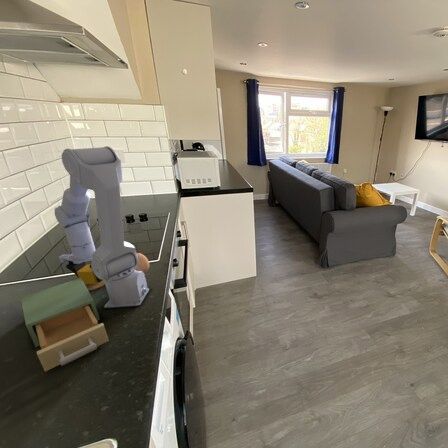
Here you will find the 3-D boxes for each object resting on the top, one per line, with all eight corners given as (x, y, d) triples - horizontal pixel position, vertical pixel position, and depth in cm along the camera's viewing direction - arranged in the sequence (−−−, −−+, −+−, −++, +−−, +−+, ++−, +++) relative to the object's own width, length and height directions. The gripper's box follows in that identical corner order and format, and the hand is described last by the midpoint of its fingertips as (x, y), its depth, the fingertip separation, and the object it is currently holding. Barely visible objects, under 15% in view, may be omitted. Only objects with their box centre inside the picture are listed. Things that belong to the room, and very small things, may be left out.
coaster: (115, 274, 90) (115, 273, 90) (101, 290, 82) (101, 289, 82) (86, 276, 89) (86, 275, 89) (69, 292, 81) (69, 291, 81)
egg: (152, 268, 95) (148, 247, 92) (149, 279, 88) (144, 257, 85) (129, 271, 92) (123, 250, 89) (124, 283, 86) (118, 260, 83)
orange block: (95, 284, 83) (91, 271, 82) (80, 284, 83) (76, 271, 81) (105, 276, 88) (101, 264, 86) (90, 276, 87) (86, 264, 86)
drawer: (114, 350, 60) (109, 334, 58) (48, 384, 52) (39, 367, 50) (94, 314, 71) (89, 299, 69) (36, 337, 63) (29, 321, 61)
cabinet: (100, 319, 70) (93, 299, 68) (35, 347, 61) (25, 325, 59) (86, 296, 79) (80, 277, 77) (29, 317, 70) (20, 297, 68)
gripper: (45, 248, 76) (59, 287, 81) (97, 248, 77) (108, 287, 82) (64, 238, 83) (76, 275, 88) (111, 238, 83) (121, 275, 88)
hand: (92, 280), depth 85 cm, fingers closed on orange block, 4 cm apart
